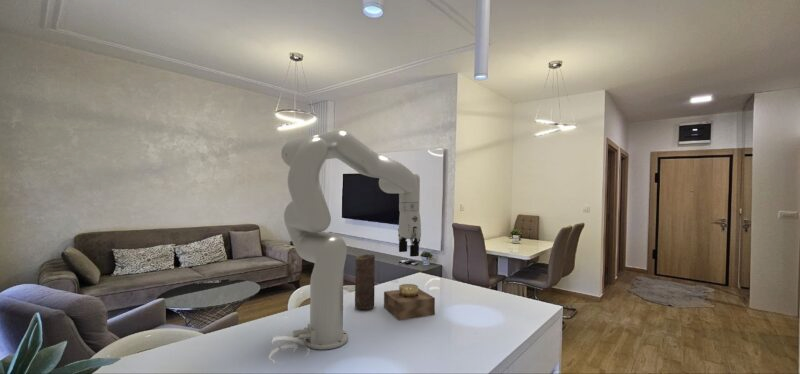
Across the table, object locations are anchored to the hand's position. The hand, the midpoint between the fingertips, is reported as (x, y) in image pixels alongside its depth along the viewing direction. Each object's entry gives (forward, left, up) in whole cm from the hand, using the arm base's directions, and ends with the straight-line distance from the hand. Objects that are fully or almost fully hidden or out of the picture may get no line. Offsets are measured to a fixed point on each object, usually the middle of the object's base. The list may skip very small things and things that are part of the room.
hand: (408, 253), depth 128 cm
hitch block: (0, 0, -21) cm, 21 cm away
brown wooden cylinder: (-14, +9, -21) cm, 27 cm away
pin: (0, 0, -21) cm, 21 cm away
